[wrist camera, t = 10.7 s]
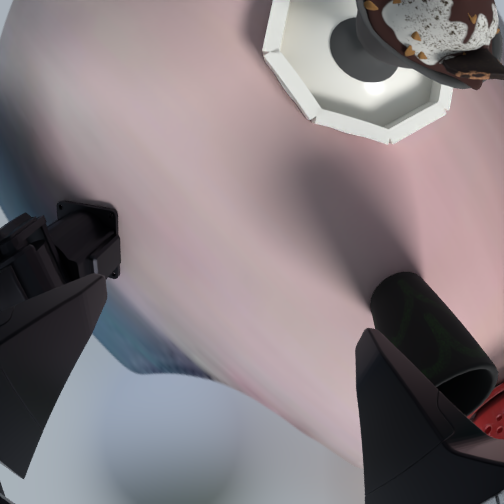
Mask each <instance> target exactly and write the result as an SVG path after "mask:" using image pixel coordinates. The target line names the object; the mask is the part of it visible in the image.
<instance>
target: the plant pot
mask: <svg viewBox="0 0 504 504" xmlns="http://www.w3.org/2000/svg"><path fill="white" fill-rule="evenodd" d="M467 418H468V419H470V420H471V421H472V422H473V423H474V424H475V425H476V426H478V427H479V428H480V429H481V430H482V431H483V432H484V433H486V434H487V435H489V436H490V437H493V438H496V439H502V440H504V383H502V384H500V385H498V386H497V387H495V388H494V389H493V391H492V392H491V394H490V395H489V397H488V398H487V399H486V400H485V401H484V403H483V404H482V405H481V406H480V407H478V408H477V409H476V410H475V411H474V412H473V413H472V414H470V415H469V416H467Z"/></svg>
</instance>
